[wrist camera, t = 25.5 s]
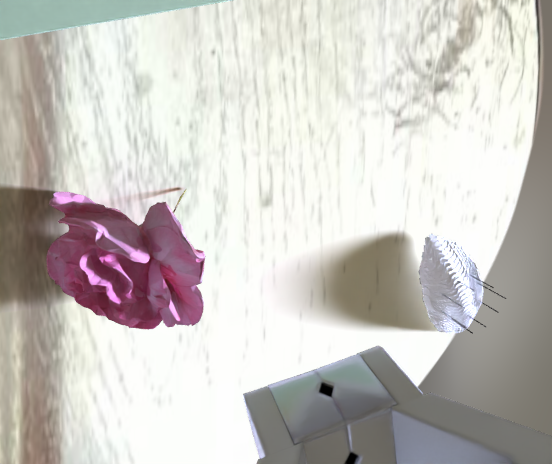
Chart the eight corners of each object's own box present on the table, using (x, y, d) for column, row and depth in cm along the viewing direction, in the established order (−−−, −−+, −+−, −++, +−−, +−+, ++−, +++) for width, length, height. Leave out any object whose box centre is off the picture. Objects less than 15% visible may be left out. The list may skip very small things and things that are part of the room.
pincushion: (396, 252, 42) (441, 279, 37) (450, 215, 43) (500, 236, 38) (431, 344, 48) (474, 378, 43) (478, 309, 49) (525, 338, 44)
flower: (112, 291, 40) (14, 351, 31) (104, 171, 37) (-6, 198, 28) (241, 316, 37) (173, 391, 28) (243, 186, 34) (169, 222, 25)
